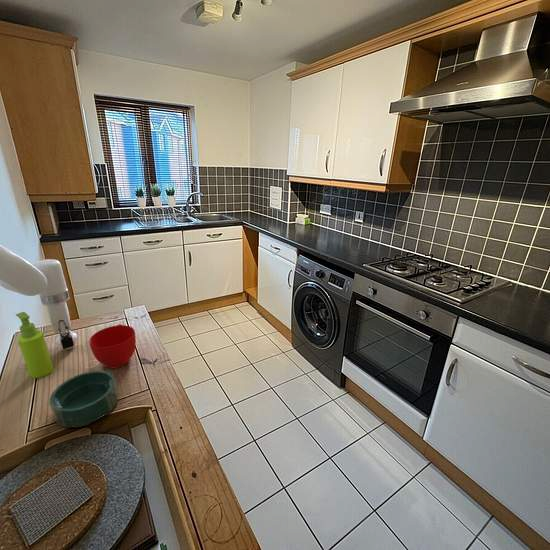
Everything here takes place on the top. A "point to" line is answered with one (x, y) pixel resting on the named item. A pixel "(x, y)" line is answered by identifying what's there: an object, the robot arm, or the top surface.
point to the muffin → (74, 337)
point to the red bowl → (113, 345)
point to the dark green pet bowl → (84, 398)
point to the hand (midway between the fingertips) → (67, 342)
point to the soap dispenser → (34, 348)
